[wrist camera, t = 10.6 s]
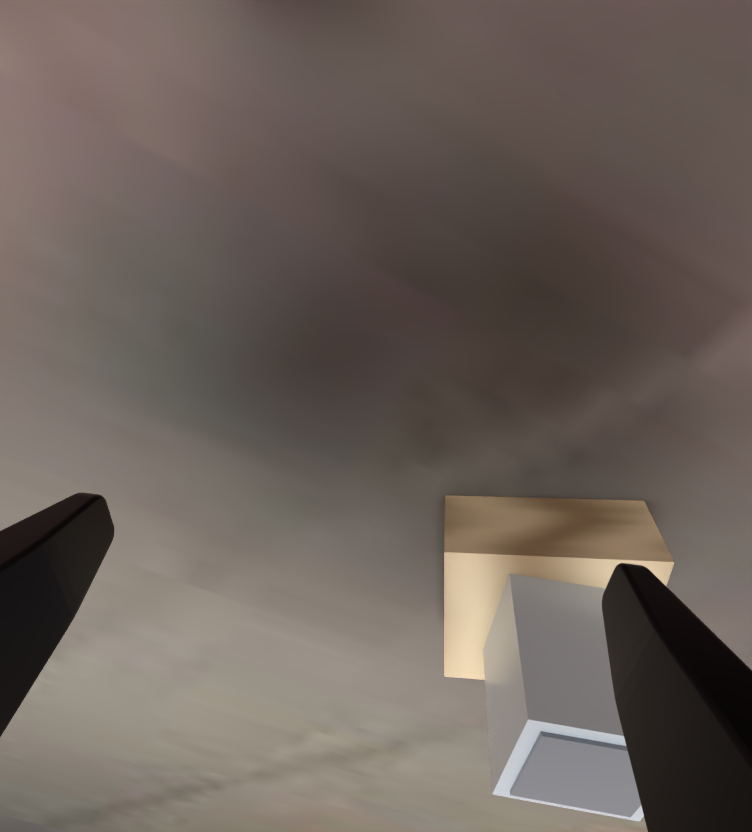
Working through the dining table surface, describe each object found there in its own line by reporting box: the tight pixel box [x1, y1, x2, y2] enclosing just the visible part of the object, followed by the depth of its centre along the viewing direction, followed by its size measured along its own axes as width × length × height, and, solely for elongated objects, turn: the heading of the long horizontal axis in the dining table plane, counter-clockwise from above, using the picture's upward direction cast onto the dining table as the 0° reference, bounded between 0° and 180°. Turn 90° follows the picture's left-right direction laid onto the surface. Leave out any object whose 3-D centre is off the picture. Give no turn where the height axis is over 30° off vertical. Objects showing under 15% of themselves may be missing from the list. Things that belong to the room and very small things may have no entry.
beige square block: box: [444, 495, 674, 680], centre depth 24 cm, size 9×9×4 cm
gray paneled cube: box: [483, 573, 644, 821], centre depth 20 cm, size 6×6×6 cm
